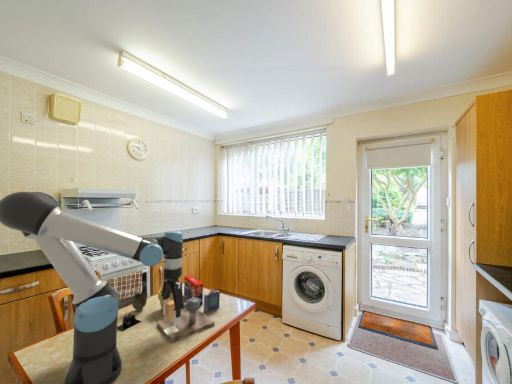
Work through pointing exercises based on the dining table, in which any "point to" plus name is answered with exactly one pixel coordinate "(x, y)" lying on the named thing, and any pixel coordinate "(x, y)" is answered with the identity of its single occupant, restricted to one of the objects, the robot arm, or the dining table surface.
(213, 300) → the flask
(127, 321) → the black rounded lump
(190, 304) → the grey joystick lever
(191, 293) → the toy box
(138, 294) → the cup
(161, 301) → the plant pot
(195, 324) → the post base
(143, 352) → the dining table surface
